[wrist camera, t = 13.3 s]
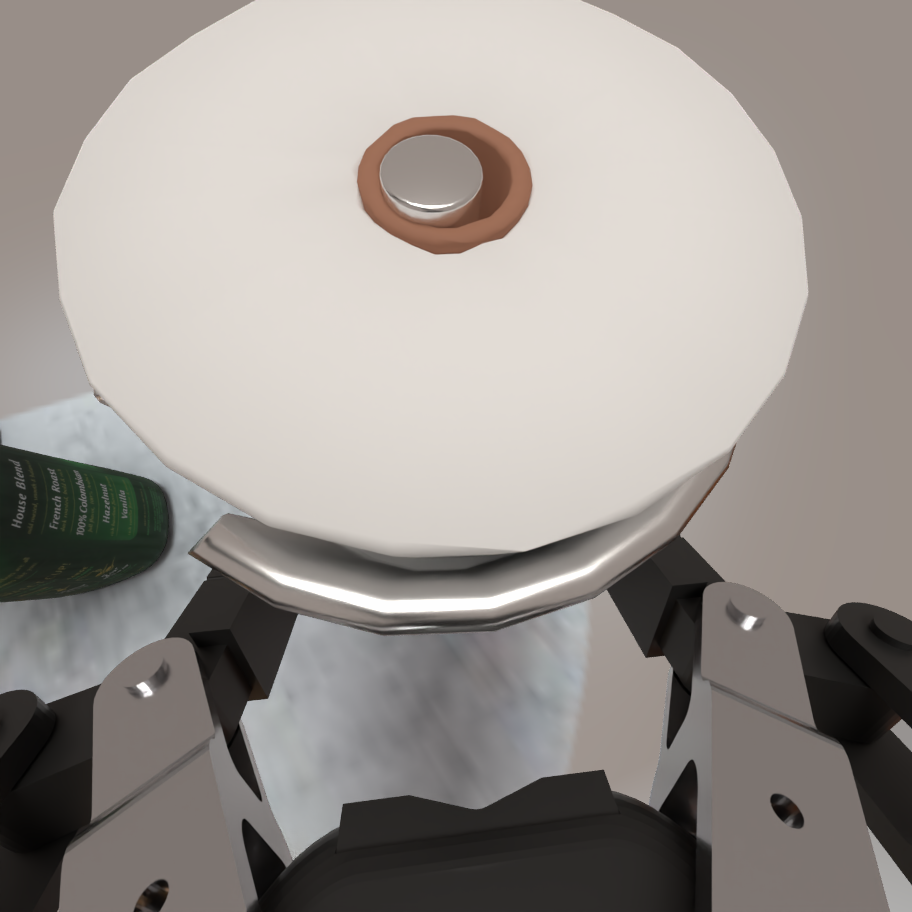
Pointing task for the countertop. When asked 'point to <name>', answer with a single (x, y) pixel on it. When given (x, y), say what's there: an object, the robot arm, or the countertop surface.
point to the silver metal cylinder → (432, 297)
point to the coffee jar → (73, 526)
